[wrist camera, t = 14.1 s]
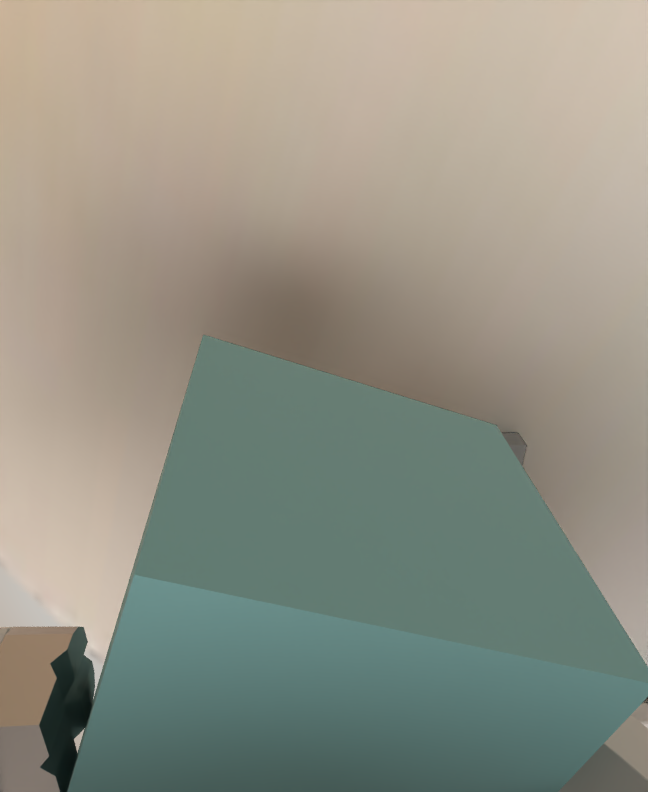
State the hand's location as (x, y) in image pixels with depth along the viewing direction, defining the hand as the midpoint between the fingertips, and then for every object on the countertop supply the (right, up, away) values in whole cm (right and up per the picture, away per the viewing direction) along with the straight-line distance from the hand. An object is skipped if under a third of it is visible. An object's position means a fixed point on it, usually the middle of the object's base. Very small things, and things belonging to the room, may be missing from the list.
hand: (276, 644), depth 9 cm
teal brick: (0, +1, +2) cm, 2 cm away
